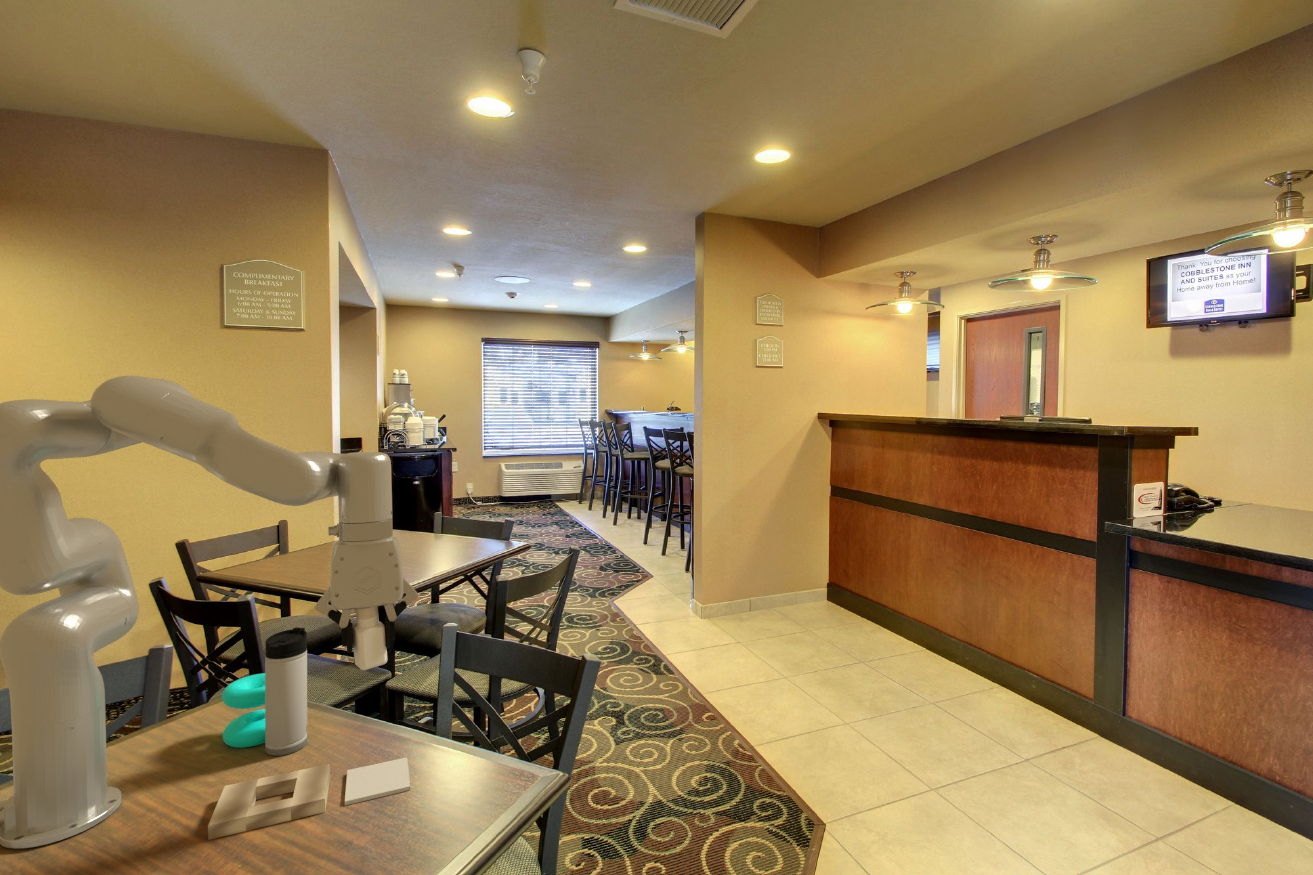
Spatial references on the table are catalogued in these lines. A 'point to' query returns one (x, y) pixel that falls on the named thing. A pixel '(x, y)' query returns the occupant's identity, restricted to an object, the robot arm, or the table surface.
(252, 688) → the donuts
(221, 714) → the table surface
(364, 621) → the pepper shaker
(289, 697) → the travel mug
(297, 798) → the socket block
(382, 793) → the beige mat
